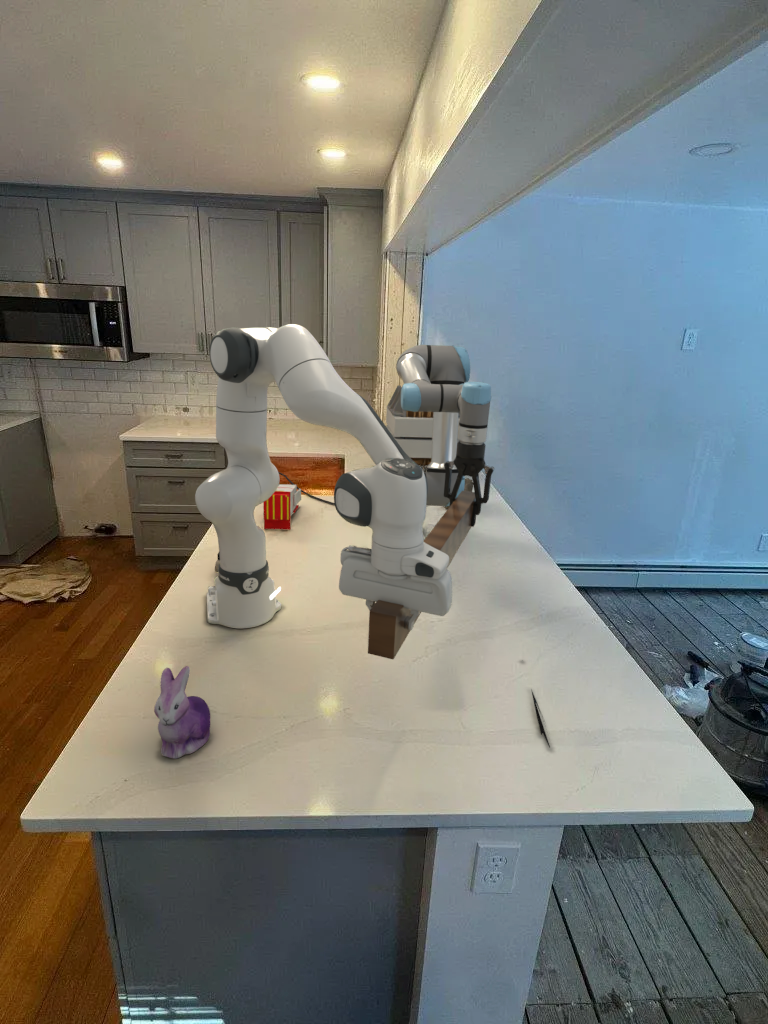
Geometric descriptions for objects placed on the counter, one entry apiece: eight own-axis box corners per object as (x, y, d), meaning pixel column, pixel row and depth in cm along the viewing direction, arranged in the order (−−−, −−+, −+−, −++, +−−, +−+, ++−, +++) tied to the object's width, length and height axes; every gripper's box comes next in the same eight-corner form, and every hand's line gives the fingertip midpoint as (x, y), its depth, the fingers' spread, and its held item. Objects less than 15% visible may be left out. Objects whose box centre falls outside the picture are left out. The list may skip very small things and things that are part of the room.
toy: (303, 479, 223) (293, 493, 194) (302, 513, 226) (293, 531, 196) (272, 479, 223) (257, 492, 193) (272, 512, 225) (258, 530, 196)
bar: (459, 518, 165) (462, 490, 162) (475, 520, 164) (478, 492, 161) (367, 653, 98) (369, 610, 95) (393, 659, 97) (396, 616, 94)
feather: (522, 665, 130) (528, 659, 129) (549, 752, 103) (556, 745, 103) (516, 662, 130) (522, 655, 129) (542, 747, 103) (549, 740, 103)
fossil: (437, 484, 244) (466, 465, 239) (450, 500, 247) (479, 482, 242) (436, 505, 224) (468, 485, 219) (450, 523, 227) (482, 504, 222)
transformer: (382, 463, 289) (386, 382, 275) (445, 464, 293) (451, 384, 279) (390, 482, 257) (394, 392, 243) (460, 483, 261) (468, 394, 247)
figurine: (162, 769, 95) (153, 695, 90) (154, 730, 104) (146, 661, 99) (219, 752, 99) (214, 680, 94) (207, 716, 108) (202, 648, 103)
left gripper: (333, 550, 97) (332, 620, 102) (449, 572, 91) (442, 646, 96) (348, 537, 103) (346, 604, 108) (458, 557, 97) (451, 627, 102)
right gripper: (435, 440, 150) (429, 522, 158) (503, 449, 145) (493, 533, 153) (442, 435, 157) (436, 514, 165) (507, 443, 151) (497, 524, 159)
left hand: (392, 624), depth 102 cm, fingers closed on bar, 5 cm apart
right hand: (463, 523), depth 159 cm, fingers closed on bar, 5 cm apart
